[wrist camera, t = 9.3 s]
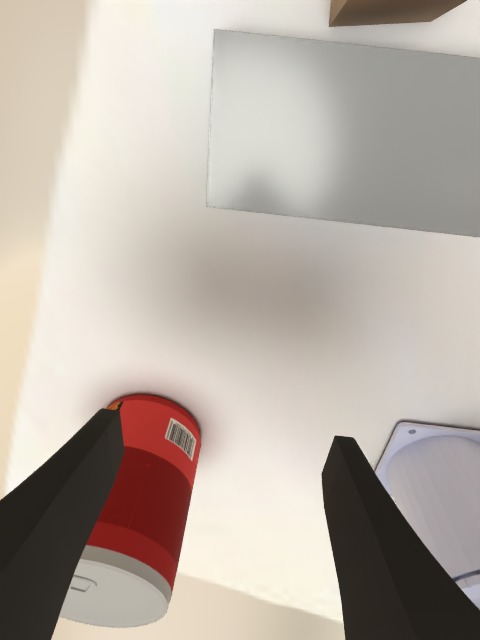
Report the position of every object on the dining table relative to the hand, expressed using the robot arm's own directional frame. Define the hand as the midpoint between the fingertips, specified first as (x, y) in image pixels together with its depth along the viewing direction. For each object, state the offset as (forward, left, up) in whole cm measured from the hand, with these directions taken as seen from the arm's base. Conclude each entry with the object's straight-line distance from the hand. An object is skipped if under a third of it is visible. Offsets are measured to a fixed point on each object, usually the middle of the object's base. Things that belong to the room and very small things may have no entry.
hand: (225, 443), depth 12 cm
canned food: (+6, +12, -11) cm, 17 cm away
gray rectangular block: (-4, -9, -10) cm, 14 cm away
